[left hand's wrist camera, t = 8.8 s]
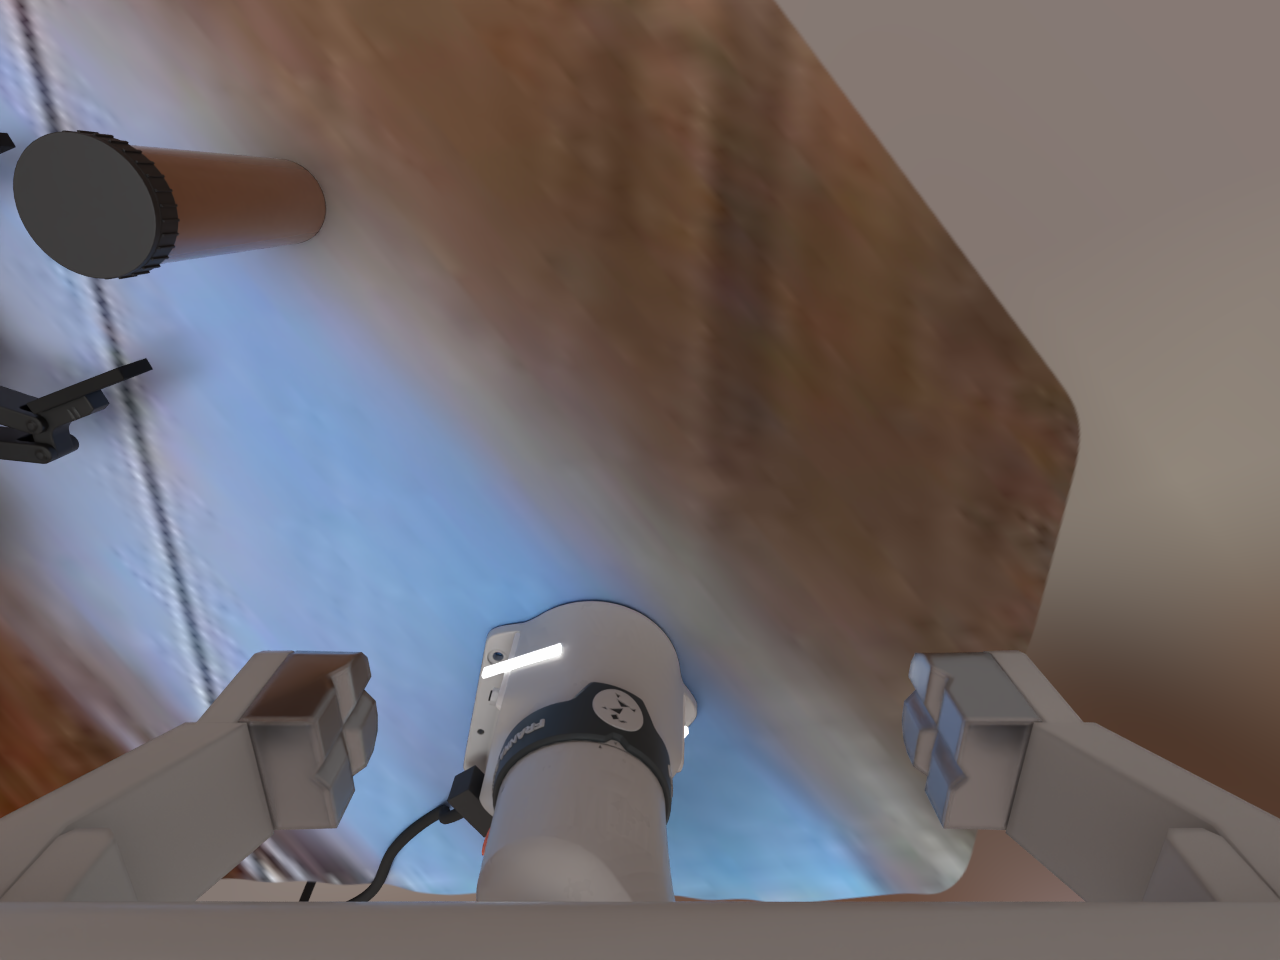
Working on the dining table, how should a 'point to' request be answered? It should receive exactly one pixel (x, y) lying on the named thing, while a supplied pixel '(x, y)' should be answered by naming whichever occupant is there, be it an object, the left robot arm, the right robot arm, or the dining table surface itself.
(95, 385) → the right robot arm
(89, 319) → the dining table surface
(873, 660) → the dining table surface
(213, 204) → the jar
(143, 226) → the lid
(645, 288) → the dining table surface
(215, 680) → the dining table surface
